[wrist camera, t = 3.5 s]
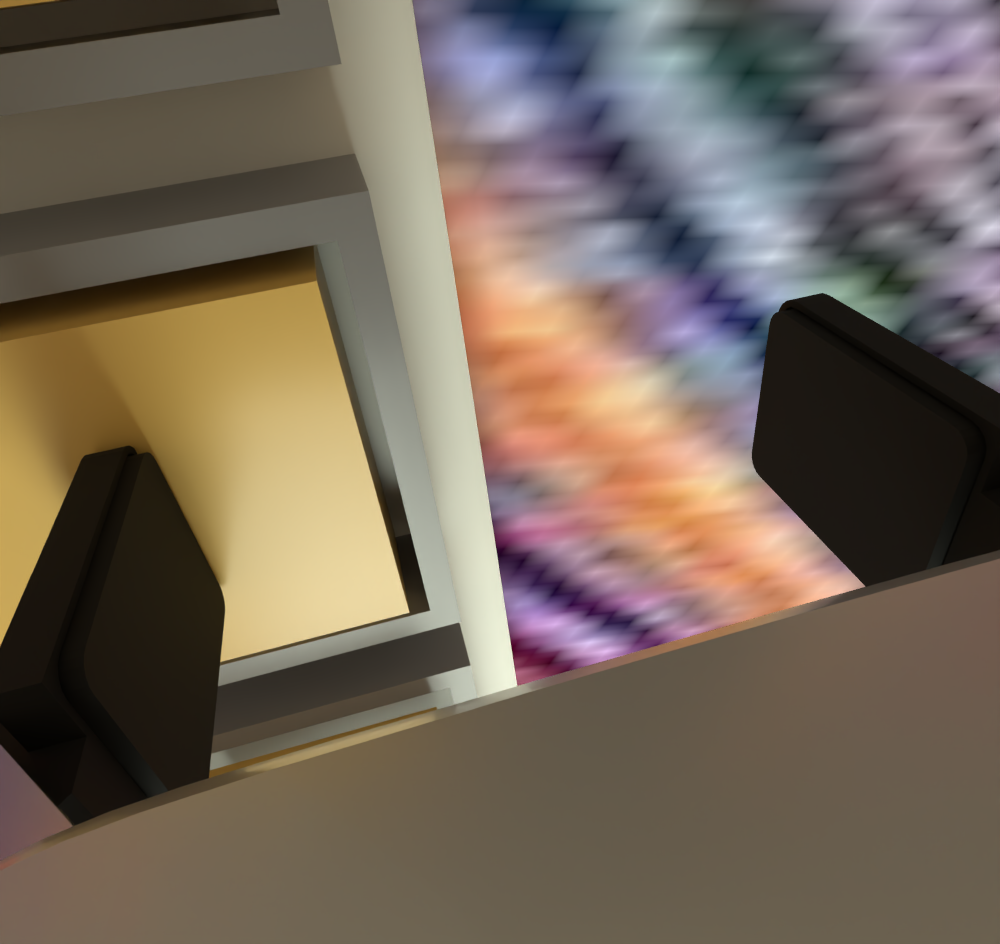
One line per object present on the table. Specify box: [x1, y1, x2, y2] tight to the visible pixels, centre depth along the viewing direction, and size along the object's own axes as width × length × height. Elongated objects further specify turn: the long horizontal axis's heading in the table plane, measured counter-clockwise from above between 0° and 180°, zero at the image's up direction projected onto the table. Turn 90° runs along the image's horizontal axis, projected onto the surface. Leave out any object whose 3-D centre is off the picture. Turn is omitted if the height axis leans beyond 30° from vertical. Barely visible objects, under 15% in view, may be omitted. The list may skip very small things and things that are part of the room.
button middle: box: [0, 245, 409, 662], centre depth 11 cm, size 6×6×2 cm
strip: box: [0, 0, 517, 770], centre depth 14 cm, size 10×35×5 cm, turn 6°
